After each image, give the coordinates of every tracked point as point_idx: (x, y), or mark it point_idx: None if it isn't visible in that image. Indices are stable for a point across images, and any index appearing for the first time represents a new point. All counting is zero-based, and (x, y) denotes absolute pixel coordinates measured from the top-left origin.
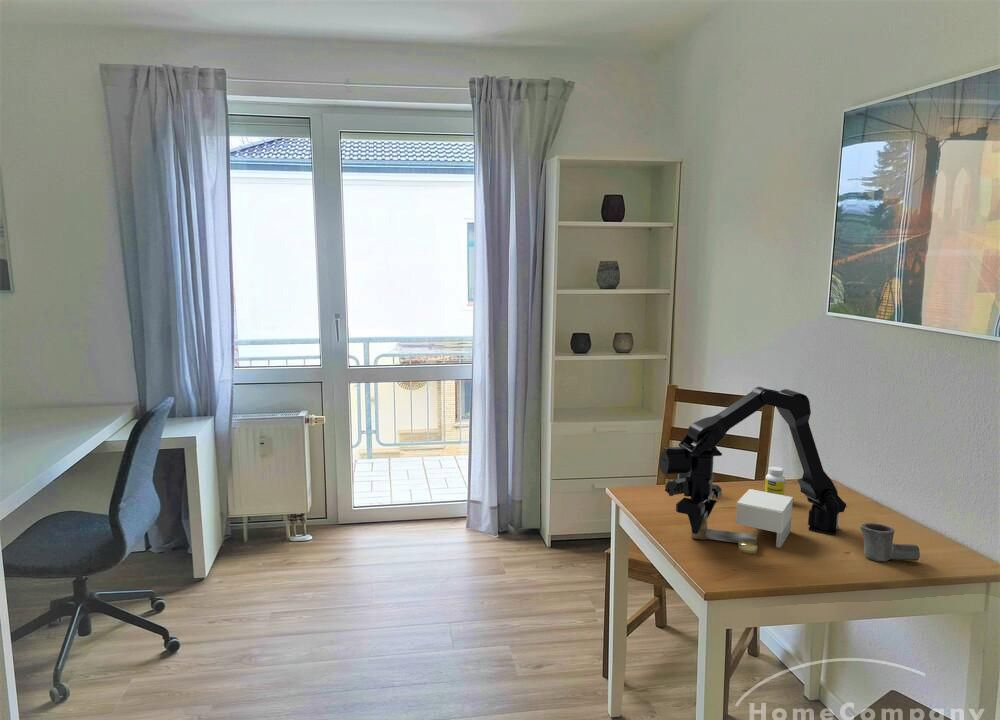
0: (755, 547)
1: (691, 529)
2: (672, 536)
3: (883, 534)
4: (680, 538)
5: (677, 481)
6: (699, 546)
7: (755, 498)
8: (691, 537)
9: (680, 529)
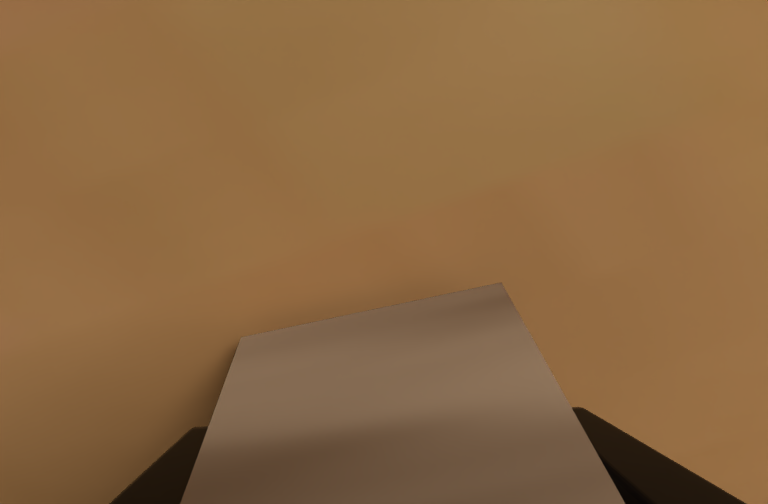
0: None
1: (207, 429)
2: (129, 15)
3: None
4: (147, 176)
5: None
6: (64, 501)
7: None
8: (242, 342)
9: (557, 28)
